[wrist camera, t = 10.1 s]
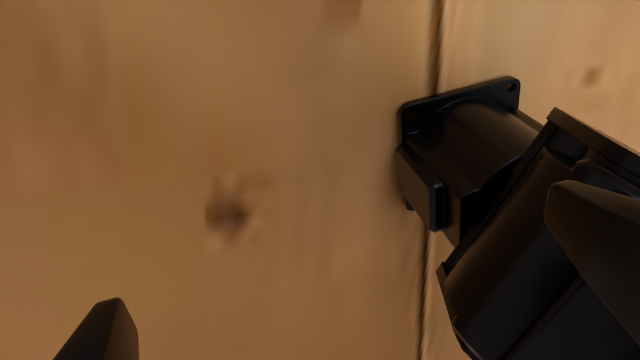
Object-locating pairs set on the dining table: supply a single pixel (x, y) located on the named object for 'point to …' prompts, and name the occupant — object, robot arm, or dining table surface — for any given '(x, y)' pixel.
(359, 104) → the dining table surface
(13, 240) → the dining table surface
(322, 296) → the dining table surface
